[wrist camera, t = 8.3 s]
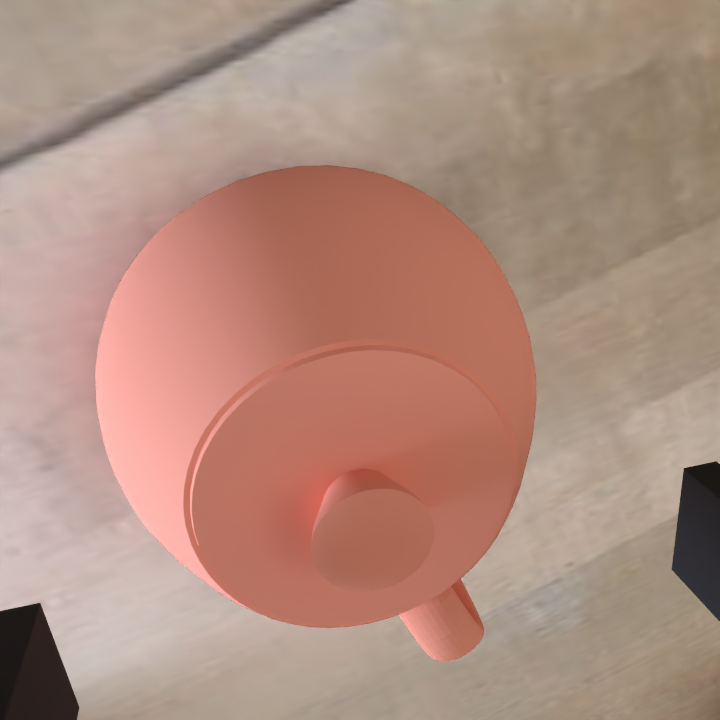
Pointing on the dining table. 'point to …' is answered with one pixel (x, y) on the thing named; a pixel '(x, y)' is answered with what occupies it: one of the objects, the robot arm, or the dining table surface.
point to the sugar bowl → (321, 400)
